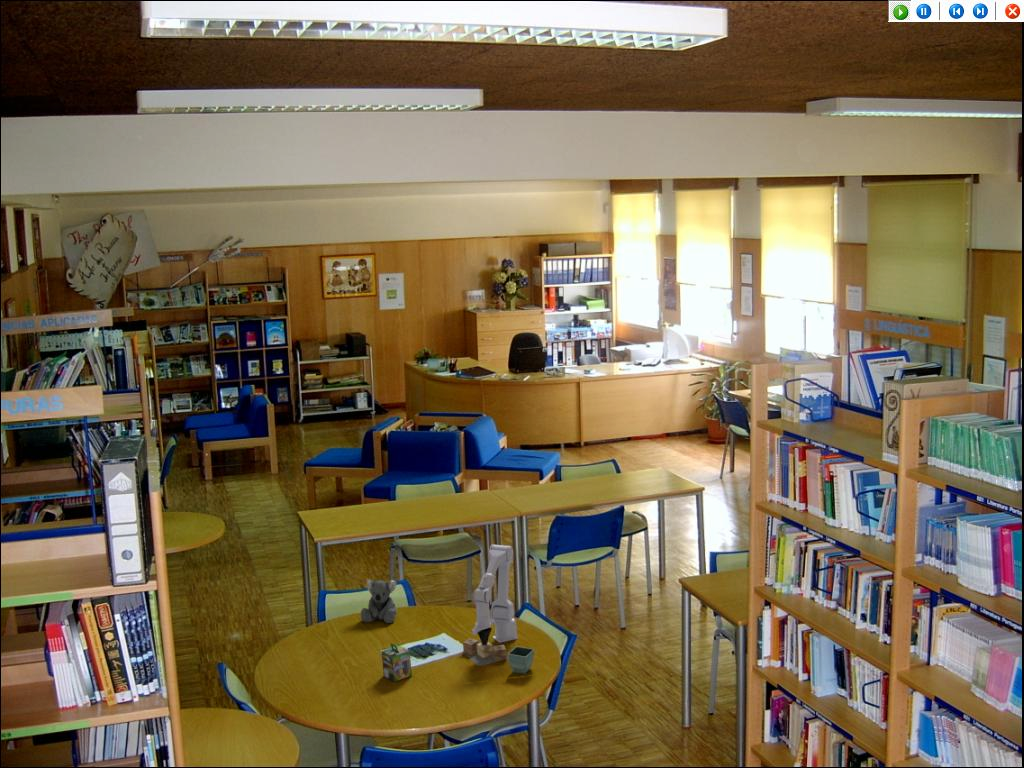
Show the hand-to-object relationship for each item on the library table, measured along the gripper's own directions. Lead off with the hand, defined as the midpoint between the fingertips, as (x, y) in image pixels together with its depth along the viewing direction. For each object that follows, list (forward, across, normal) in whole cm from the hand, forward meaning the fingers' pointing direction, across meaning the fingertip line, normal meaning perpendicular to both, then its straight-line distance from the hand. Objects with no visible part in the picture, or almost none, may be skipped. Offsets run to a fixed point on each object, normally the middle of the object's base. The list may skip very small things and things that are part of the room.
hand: (484, 644), depth 481 cm
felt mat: (+5, 0, 0) cm, 5 cm away
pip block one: (+5, 0, +8) cm, 9 cm away
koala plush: (+6, -13, -72) cm, 74 cm away
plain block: (+5, 0, 0) cm, 5 cm away
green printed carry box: (+6, +35, -20) cm, 41 cm away
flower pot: (+6, +5, +23) cm, 25 cm away
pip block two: (+5, 0, -7) cm, 9 cm away
